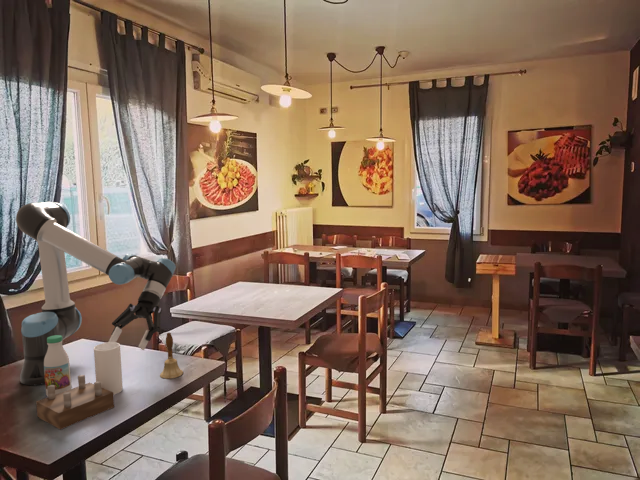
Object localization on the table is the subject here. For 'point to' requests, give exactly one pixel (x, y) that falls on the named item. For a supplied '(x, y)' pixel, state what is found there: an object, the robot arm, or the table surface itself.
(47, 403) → the riser
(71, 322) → the robot arm
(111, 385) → the cup
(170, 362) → the hand bell
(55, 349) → the milk bottle
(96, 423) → the table surface
